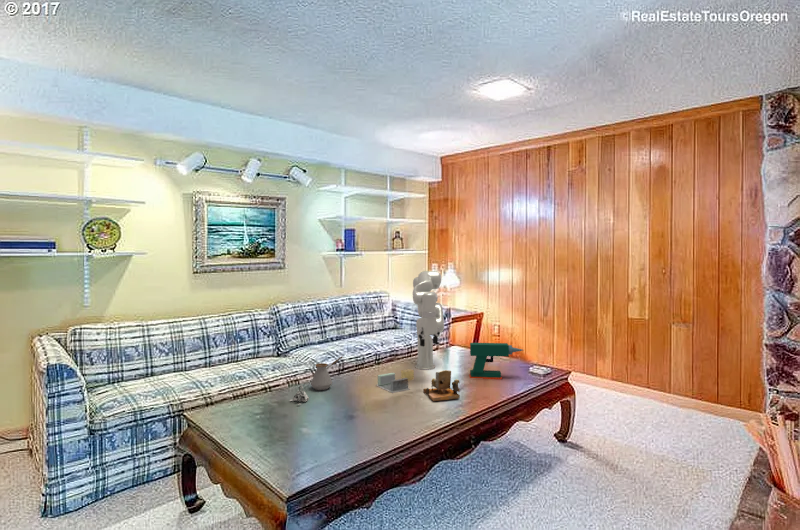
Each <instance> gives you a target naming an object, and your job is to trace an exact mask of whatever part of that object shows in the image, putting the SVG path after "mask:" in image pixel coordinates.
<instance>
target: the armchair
mask: <svg viewBox="0 0 800 530" xmlns="http://www.w3.org/2000/svg"><path fill="white" fill-rule="evenodd" d="M451 380H452V371H451V370H447V369H446V370H441V371H436V372H435V378H433V377H432V379H431V382H430V383H431V386H430V387H431V388H429V387H426V388H423V391H422V392H423V393H424V394H425V395H426V396H427V397H428V398H429V399H430V400H431V401H433V402H436V401H446V400H447V401H449V400H455V399H460V396H461V395H460V394H459V393H460V392H461V391H460V390H461V389H460V388H459V385H460V383H461V382H460V379H457V378H455V379H454V381H452V382H451ZM451 386H452V389H451ZM433 387H434V388H433Z"/></svg>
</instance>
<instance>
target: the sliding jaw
mask: <svg viewBox="0 0 800 530" xmlns="http://www.w3.org/2000/svg"><path fill="white" fill-rule="evenodd" d="M392 380H396V373H395V372H390V373H389V372H388V373H382V374H378V375H377V384H378V385H384V384H389V383H391V381H392Z"/></svg>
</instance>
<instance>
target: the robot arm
mask: <svg viewBox="0 0 800 530" xmlns="http://www.w3.org/2000/svg"><path fill="white" fill-rule="evenodd" d="M412 280H413V281H412V287H413V289H412V300H413V303H414V304H415V305H417V313H418V316H419V318H417V320H416V322H415V326H416V334H417V335H416V336H417V359H415V361H414V362H415V363H416V364H415V365H414V367H416V368H415V369H417V368H418V369H417V370H421V369H422V370H423V371H427V370H428V371H429V369H430V370H433V369H436V365H435V364H434V363H433V362H434V359H433V357H434V353H433V352H434V349H433V347H434V345H438V341H439V340H438V338H439V335H441V333H442V332H444V330H445V320H444V310H443V305H442V304H441V303H440V302H438V294H437V293H436V292H435V291H433V290H438V289H439V288H440V285H441V284H442V276H441V273H440V272H439V271H436V270H432V271H431V270H430V271H429V270H428V271H427V270H424V271H421V272H420V273H419V274H418V276H416V277H414V278H413V279H412ZM432 336H433V337H432ZM433 344H434V345H433ZM422 370H421V371H422Z"/></svg>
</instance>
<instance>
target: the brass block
mask: <svg viewBox="0 0 800 530" xmlns="http://www.w3.org/2000/svg"><path fill="white" fill-rule="evenodd" d="M400 371H401V372H400V377H401V378H400V379H403V378H408V382H409V381H412V380H413V379H415V378H414V377H415V375H414V374H415V373H414V372H415V371H414V369H411V368H408V369H401V370H400Z"/></svg>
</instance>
